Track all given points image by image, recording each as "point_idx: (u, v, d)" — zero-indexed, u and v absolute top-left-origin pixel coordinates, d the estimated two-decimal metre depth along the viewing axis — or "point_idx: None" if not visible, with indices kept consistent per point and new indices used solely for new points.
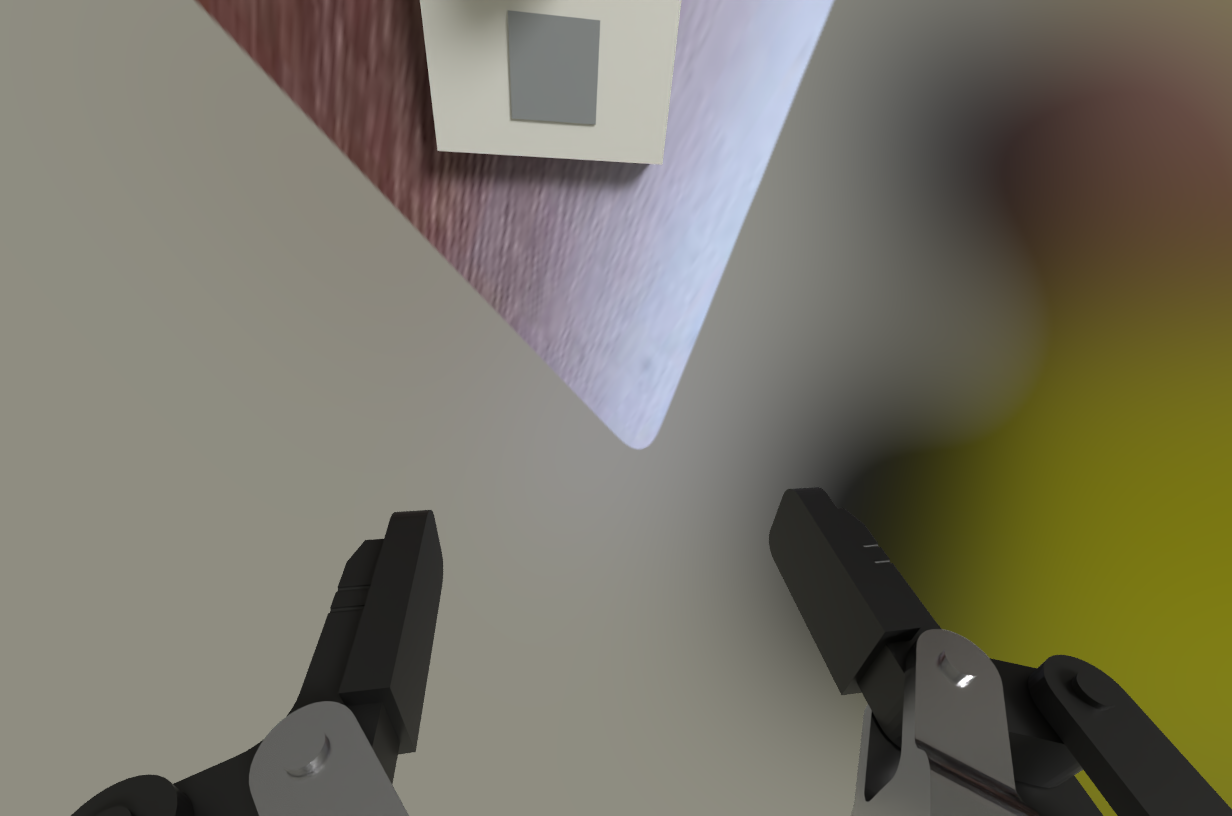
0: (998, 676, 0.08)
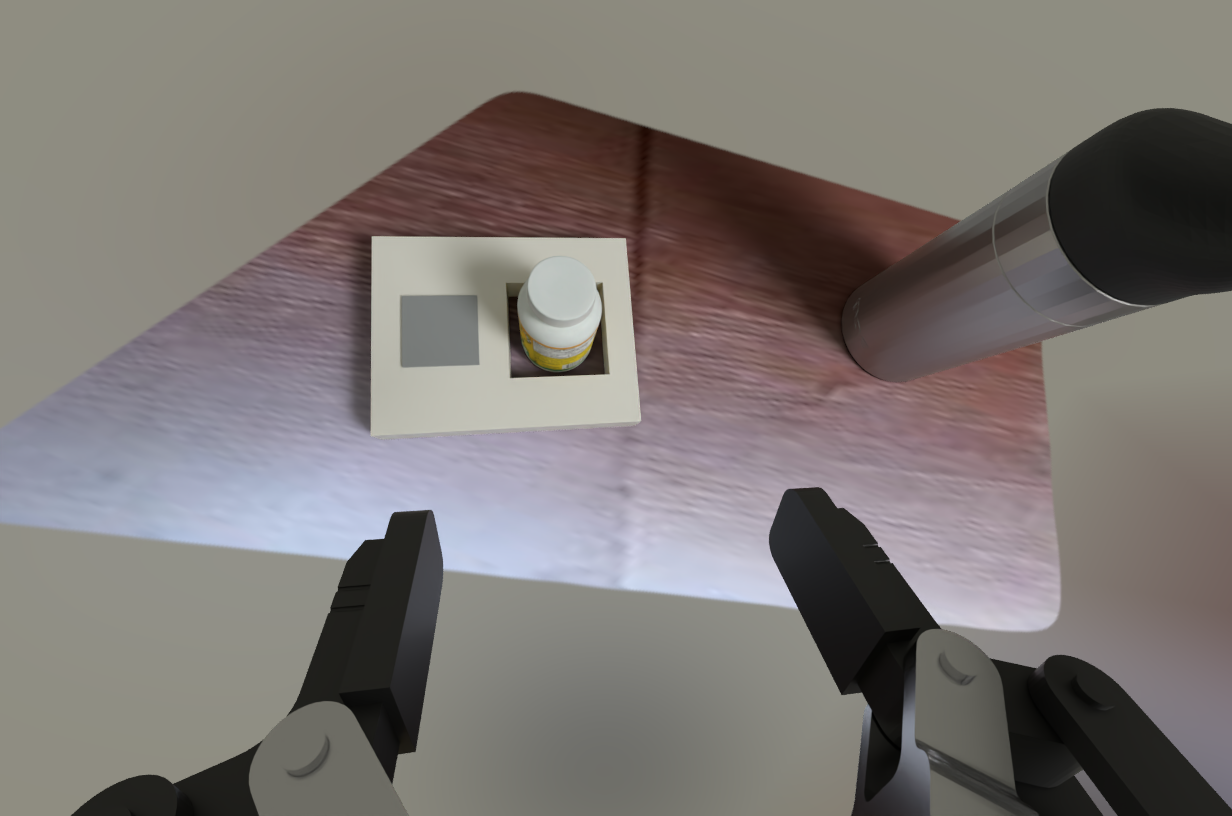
0: (998, 676, 0.08)
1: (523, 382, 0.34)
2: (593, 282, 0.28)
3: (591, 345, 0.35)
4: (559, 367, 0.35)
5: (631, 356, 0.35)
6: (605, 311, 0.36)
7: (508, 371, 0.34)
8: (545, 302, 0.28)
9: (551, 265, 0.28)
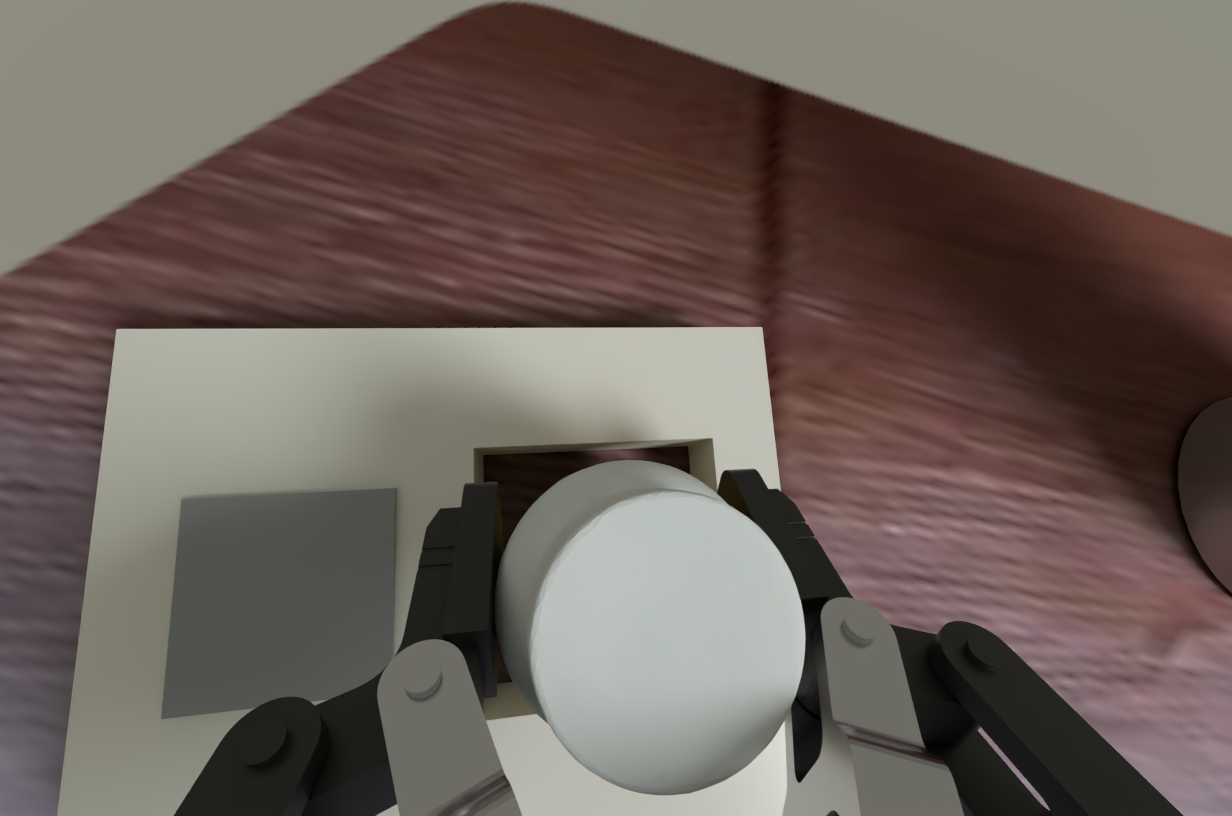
0: (895, 640, 0.08)
1: (513, 731, 0.12)
2: (794, 601, 0.07)
3: None
4: None
5: None
6: None
7: None
8: (606, 718, 0.06)
9: (628, 538, 0.07)
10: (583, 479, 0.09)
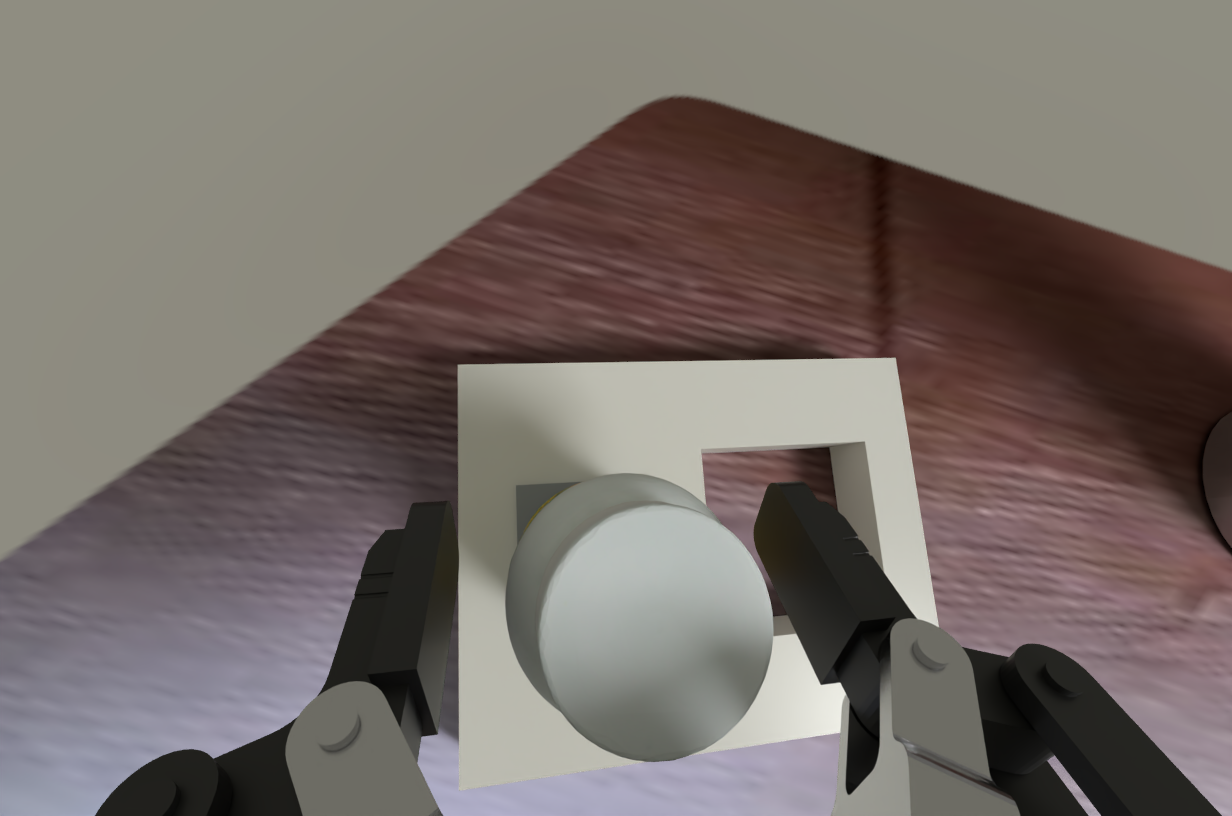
0: (969, 664, 0.08)
1: None
2: (764, 599, 0.08)
3: None
4: None
5: (925, 585, 0.19)
6: (874, 498, 0.19)
7: None
8: (603, 696, 0.08)
9: (622, 545, 0.08)
10: (584, 490, 0.10)
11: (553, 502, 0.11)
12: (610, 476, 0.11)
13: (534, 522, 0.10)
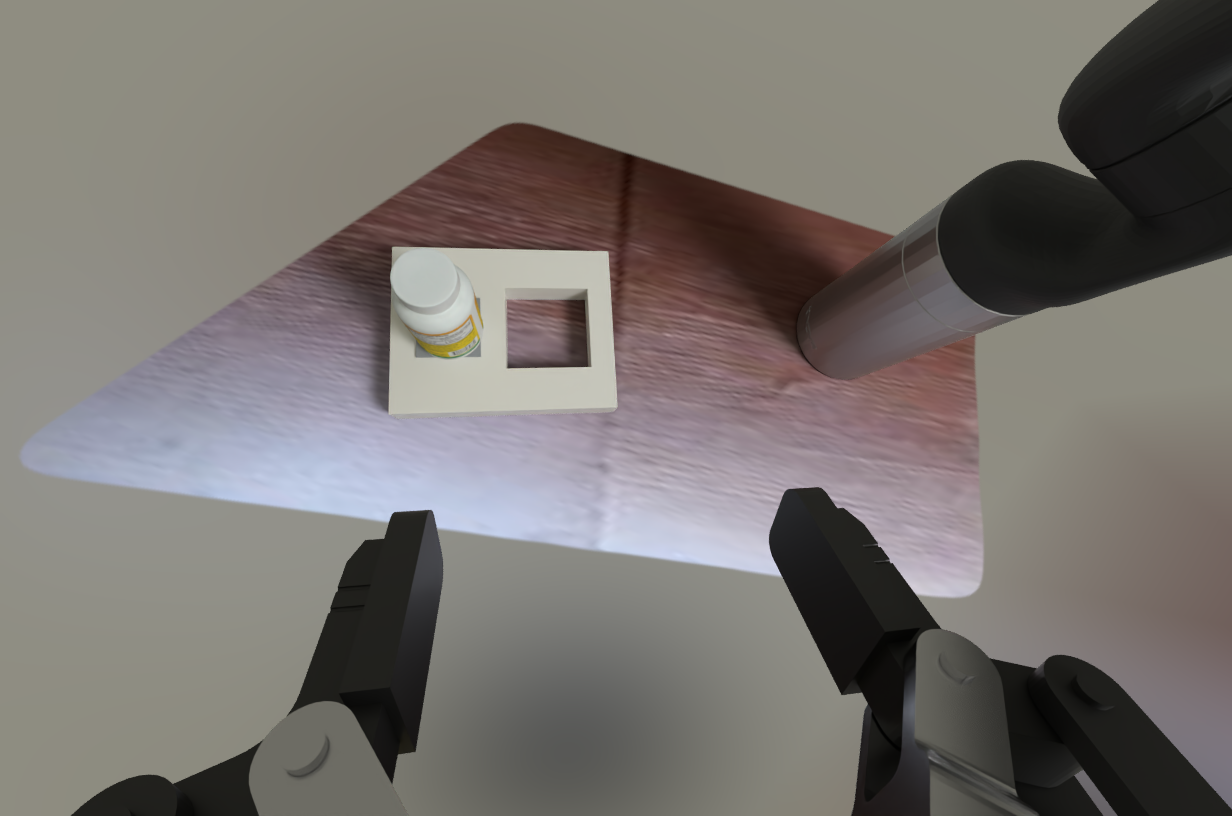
0: (998, 676, 0.08)
1: (518, 372, 0.40)
2: (454, 272, 0.30)
3: (477, 334, 0.37)
4: (446, 354, 0.37)
5: (610, 352, 0.41)
6: (589, 314, 0.42)
7: (505, 362, 0.40)
8: (406, 290, 0.30)
9: (414, 256, 0.30)
10: None
11: None
12: None
13: None
